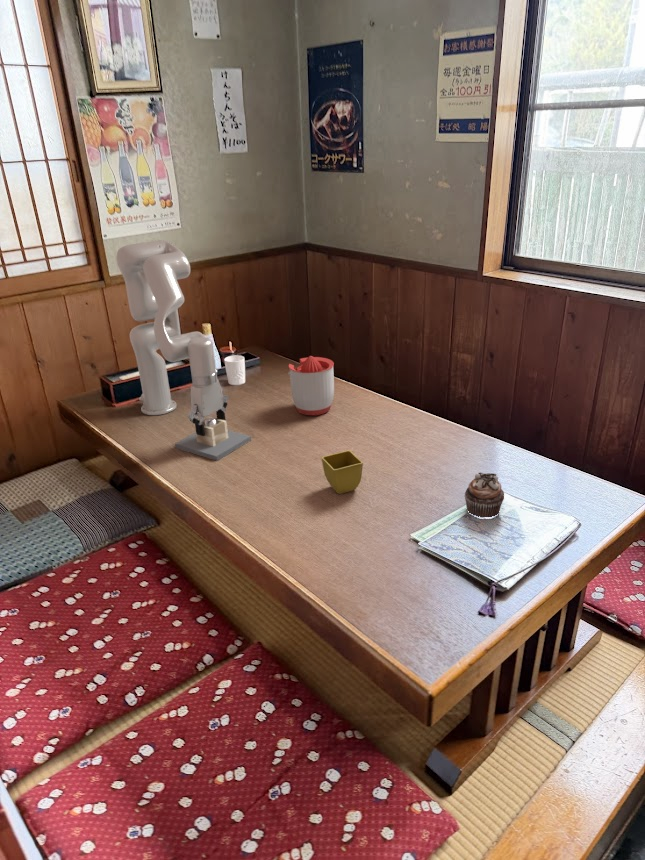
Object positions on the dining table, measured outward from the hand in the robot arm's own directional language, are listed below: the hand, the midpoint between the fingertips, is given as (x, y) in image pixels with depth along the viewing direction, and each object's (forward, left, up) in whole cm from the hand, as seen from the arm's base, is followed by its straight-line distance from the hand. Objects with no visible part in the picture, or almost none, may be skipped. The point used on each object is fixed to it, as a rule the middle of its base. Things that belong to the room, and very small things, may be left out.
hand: (211, 429), depth 201 cm
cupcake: (+88, +5, -6) cm, 88 cm away
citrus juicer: (+12, +38, -5) cm, 40 cm away
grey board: (0, 0, -5) cm, 5 cm away
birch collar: (0, 0, -4) cm, 4 cm away
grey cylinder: (0, 0, -4) cm, 4 cm away
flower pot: (+51, -3, -5) cm, 51 cm away
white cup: (-30, +46, -5) cm, 55 cm away
